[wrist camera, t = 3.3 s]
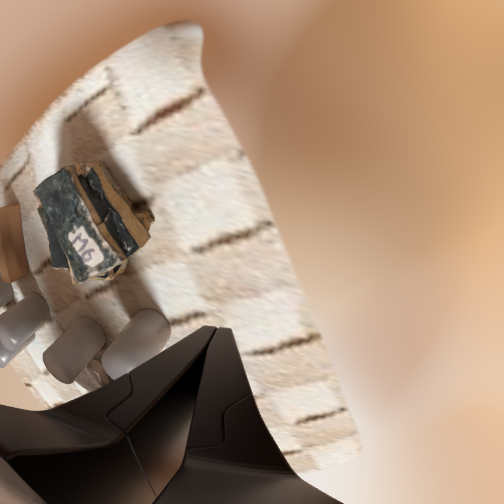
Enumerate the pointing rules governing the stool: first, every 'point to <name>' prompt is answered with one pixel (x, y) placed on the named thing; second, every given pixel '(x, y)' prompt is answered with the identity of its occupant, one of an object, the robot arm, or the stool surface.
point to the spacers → (79, 338)
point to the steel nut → (92, 376)
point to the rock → (90, 222)
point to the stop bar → (12, 245)
